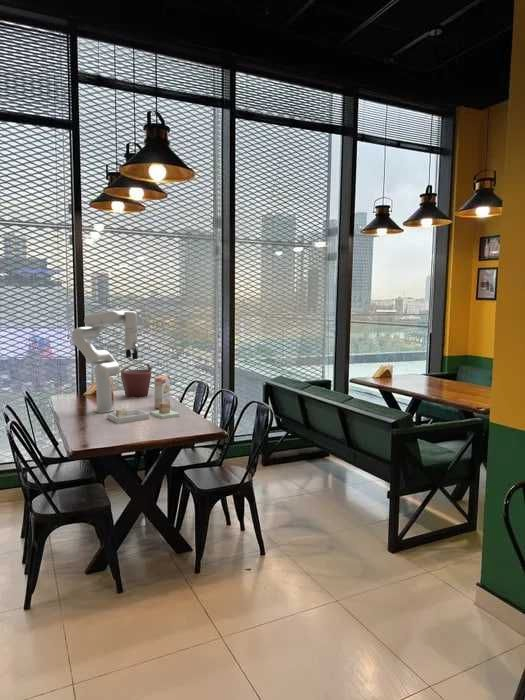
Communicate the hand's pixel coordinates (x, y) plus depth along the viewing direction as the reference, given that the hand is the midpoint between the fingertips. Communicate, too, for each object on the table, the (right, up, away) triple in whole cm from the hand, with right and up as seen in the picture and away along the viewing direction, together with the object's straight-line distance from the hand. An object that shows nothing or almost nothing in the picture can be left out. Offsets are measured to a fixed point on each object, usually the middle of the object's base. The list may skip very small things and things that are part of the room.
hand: (131, 358), depth 312 cm
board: (+20, -36, +2) cm, 42 cm away
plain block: (-3, -37, -10) cm, 39 cm away
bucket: (-13, -30, +65) cm, 73 cm away
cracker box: (+14, -34, +28) cm, 46 cm away
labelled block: (+20, -34, +2) cm, 40 cm away
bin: (0, -37, -8) cm, 38 cm away
